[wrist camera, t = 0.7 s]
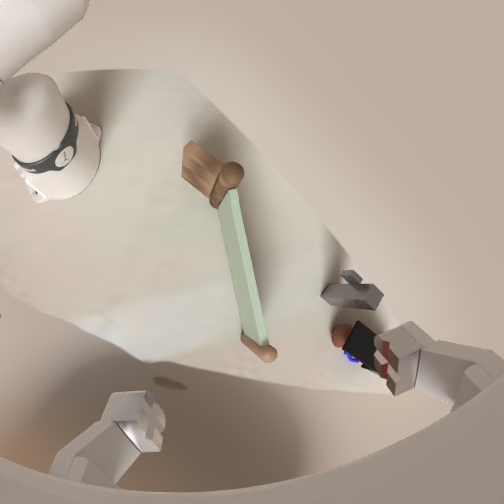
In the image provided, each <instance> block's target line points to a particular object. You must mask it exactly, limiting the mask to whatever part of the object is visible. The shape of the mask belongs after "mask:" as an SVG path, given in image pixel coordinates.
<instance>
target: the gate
mask: <svg viewBox="0 0 504 504" xmlns="http://www.w3.org/2000/svg"><path fill="white" fill-rule="evenodd" d="M217 210H218V216H219V218H220V223H221V228H222V233H223V238H224V243H225V247H226V252H227V257H228V262H229V267H230V271H231V276H232V281H233V285H234V290H235V295H236V299H237V304H238V308H239V313H240V317H241V322H242V326H243V331H244V333H243V334H242V336H241V341H242V343H244V344H245V345H246V346H247V347H248V348H249V349H250V350H251V351H252V352H253V353H255V354H256V355H257V356H258V357H259V358H260V359H261V360H262V361H264V362H266V363H271V362H273V361H274V360H275V359H276V358H277V350H276V349H275V348H274V347H272V346H271V345H269V341H268V337H267V332H266V327H265V323H264V318H263V313H262V309H261V304H260V299H259V294H258V290H257V285H256V280H255V276H254V271H253V266H252V262H251V257H250V252H249V247H248V243H247V238H246V233H245V229H244V224H243V219H242V214H241V210H240V205H239V196H238V191H237V189H232V190H228V192H227V194H226V195H225V197H224V199H223V200H222V202H221V204H220V206H219V207H218V209H217Z"/></svg>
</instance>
